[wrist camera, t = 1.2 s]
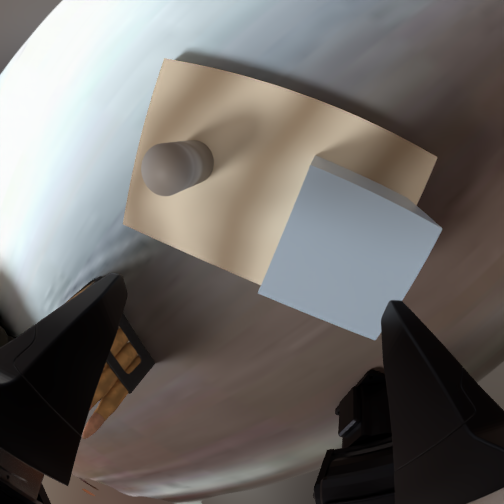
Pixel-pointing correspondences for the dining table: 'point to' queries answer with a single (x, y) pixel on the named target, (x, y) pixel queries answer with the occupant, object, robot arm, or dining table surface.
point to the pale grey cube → (348, 249)
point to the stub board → (247, 163)
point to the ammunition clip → (118, 372)
